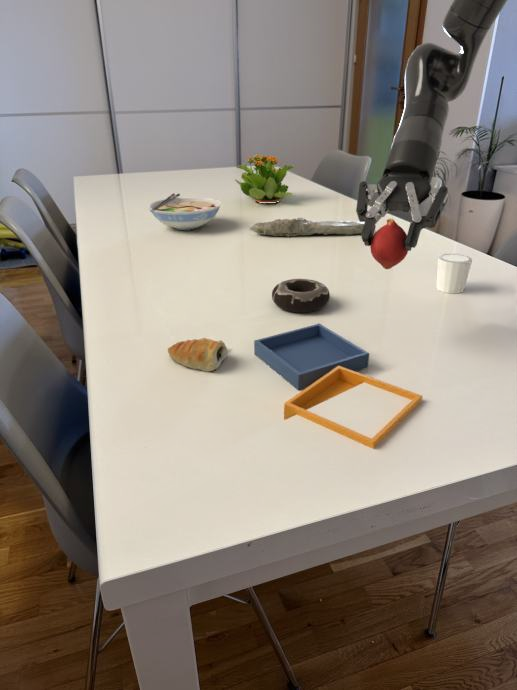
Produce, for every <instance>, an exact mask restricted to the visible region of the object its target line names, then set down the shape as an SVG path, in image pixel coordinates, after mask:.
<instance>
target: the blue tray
mask: <svg viewBox="0 0 517 690" xmlns="http://www.w3.org/2000/svg"><path fill="white" fill-rule="evenodd" d="M253 342H254V343H253V347H254V349H253V350H254V352H253V353H254V356H256V357H257V356H258V357H259V358H258V357H257V358H258V359H259V360H261V361H262V360H263V361H264V362H265V363H264V362H263V361H262V362H263V363H264V364H265V365H266V366H268V365H269V366H270V367H271V368H270V367H269V366H268V367H269V368H270V369H271V370H273V371H274V370H275V371H276V372H275V371H274V372H275V373H276V374H277V375H279V376H280V375H281V376H282V377H281V376H280V377H281V378H282V379H284V380H285V381H286V382H287V383H288V384H289V385H291V386H292V387H293V388H295V389H296V390H297V391H302V390H304V389H306V388H307V387H309V386H310V385H311V384H313V383H314V382H316V381H317V380H319V379H320V378H321V377H323V376H324V375H326V374H327V373H329V372H330V371H331V370H333V369H334V368H336V367H337V366H341V367H344V368H347V369H349V370H352V371H355V372H359V371H362V370H365V369H368V368H369V361H370V360H369V359H370V353H369V352H368V351H366V350H364V349H363V348H361V347H359V346H358V345H357V344H354V343H353V342H351V341H349V340H348V339H346V338H345V337H343V336H341V335H340V334H339V333H336V332H335V331H333V330H331V329H330V328H328V327H326V326H325V325H323V324H321V323H315V324H312V325H308V326H305V327H304V326H303V327H301V328H300V327H299V328H297V329H293V330H289V331H285V332H281V333H278V334H274V335H270V336H267V337H262V338H258V339H254V340H253Z"/></svg>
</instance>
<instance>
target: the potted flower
mask: <svg viewBox="0 0 517 690" xmlns="http://www.w3.org/2000/svg"><path fill="white" fill-rule="evenodd" d="M247 160H248V161H247V163H248V164H249V166H250V167H248V166H247V165H246V164H239V165H238V166H235V168H236V169H241V170H242V171H244V172H242V173H241V179H242V180H243V181H242V182H241V181H239V180H237V179H236V178H234V181H235V182H236V183H237V184H238V185H240V186H239V187H240V190H241V192H242V193H243V194H244V196H245V195H246V196H247V197H249V198H251V199H254V201H257V202H277V201H280V202H281V200H282V199H283V198H286V197H289V196H292V195H293V193H292V192H289V185H287V184H282V182H283V180H284V179H285V177H286V176H287V172H288V171H289V170H291V169H294V168H296V165H293V164H291V165H287V164H286V165H284V166H283V167H282V168H281V167H279V168H278V169H277V167H278V165H277V164H278V163H279V161H278V158H277V156H271V155H267V156H265V155H261V156H260V154H257V153H256V154H254V156H253V157H252V156H249V157H247ZM252 164H253V165H254V166H253V167H252ZM254 172H255V173H254ZM281 198H282V199H281Z"/></svg>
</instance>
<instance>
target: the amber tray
mask: <svg viewBox="0 0 517 690" xmlns="http://www.w3.org/2000/svg"><path fill="white" fill-rule="evenodd" d="M364 383H365V384H367V385H369V386H374V387H375V388H378V389H381V390H384V391H385V392H386V391H387V392H389V393H391V394H395V395H397V396H400V397H403V398H405V399H408V400H410V401H409V402H408V403H407V404H406V405H405V406H404V407H403V408H402V409H401V410H400V411H399V412H398V413H397V414H396V415H394V417H392V419H391V420H390V421H388V422H387V424H385V425H384V427H382V428H381V429H380V430H379V431H378V432H377V433H376V434H375V435H374V436H373V437H372V438H371V437H369V436H366V435H365V434H362V433H360V432H357V431H355V430H353V429H350V428H348V427H346V426H344V425H341V424H339V423H337V422H335V421H332V420H330V419H328V418H325V417H323V416H321V415H318V414H316V413H314V412H312V411H310V410H309V409H311V408H313V407H316V406H317V405H320V404H321V403H324V402H326V401H328V400H330V399H332V398H334V397H336V396H339V395H341V394H343V393H345V392H347V391H349V390H351V389H354V388H356V387H357V386H359V385H362V384H364ZM422 401H423V395H421V394H419V393H416V392H414V391H411V390H408V389H405V388H402V387H399V386H398V385H397V386H396V385H393V384H392V383H388V382H385V381H383V380H380V379H378V378H374V377H371V376H369V375H367V374H363V373H360V372H359V371H356V372H355V371H352V370H349V369H347V368H344V367H341V366H337V367H336V368H334V369H333V370H331V371H330V372H329V373H327V374H326V375H324V376H323V377H321V378H320V379H319V380H317V381H316V382H314V383H313V384H311V385H310V386H309V387H307V388H304V389H302V390H300V392H298V393H297V394H295V395H294V396H293V397H292V398H290V399H288V400H287V401H285V402H284V403H283V404H284V405H283V420H284V421H286V420H289V419H290V418H292V417H295V416H299V417H301V418H303V419H306V420H308V421H310V422H312V423H314V424H317V425H318V426H321V427H324V428H326V429H328V430H330V431H332V432H334V433H337V434H339V435H341V436H344V437H346V438H347V439H348V438H349V439H350V440H352V441H354V442H357V443H359V444H361V445H364V446H366V447H368V448H370V449H375V447H376V446H377V445H378V444H379V443H381V442H382V440H384V439H385V438H386V437H387V436H388V434H390V433H391V432H392V431H393V430H394V429H395V428H396V427H397V426H398V425H399V424H401V422H402V421H403V420H404V419H405V418H406V417H407V416H408V415H409V414H410V413H411V412H412V411H413V410H414V409H415V408H417V406H418V405H419V404H420V403H422Z"/></svg>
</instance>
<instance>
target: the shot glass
mask: <svg viewBox="0 0 517 690" xmlns="http://www.w3.org/2000/svg"><path fill="white" fill-rule="evenodd" d="M472 263H473V259H472V257H471V256H468V255H465V254H461V253H452V252H451V253H442V254H439V255H438V256H437V269H436V270H437V271H436V289H437V290H438V291H439V292H442V293H446V294H460V293H463V292H464V290H465V287H466V284H467V280H468V276H469V273H470V269H471V266H472Z"/></svg>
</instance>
